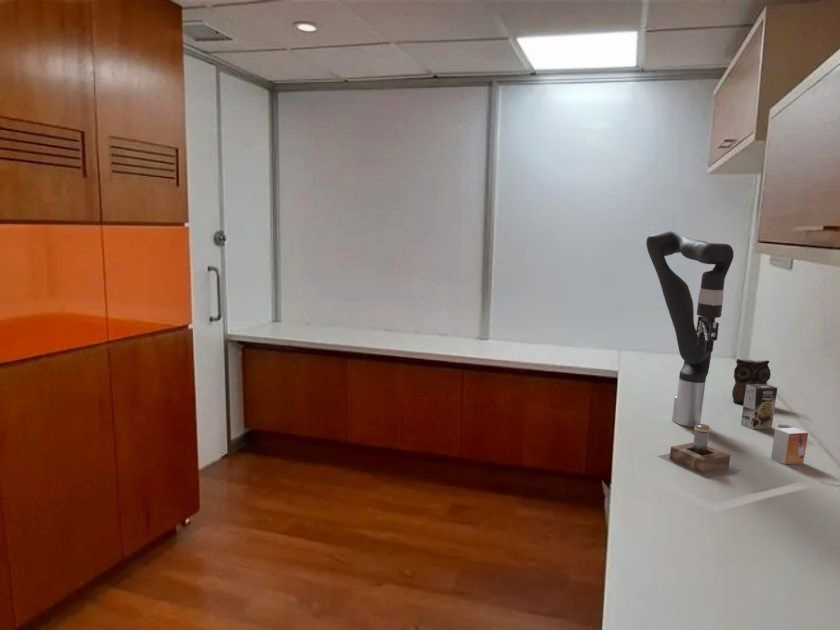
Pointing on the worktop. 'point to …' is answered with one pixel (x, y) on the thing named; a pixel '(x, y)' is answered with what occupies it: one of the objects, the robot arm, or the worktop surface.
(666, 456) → the base
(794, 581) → the worktop surface
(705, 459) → the socket block
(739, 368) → the owl
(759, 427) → the coffee box
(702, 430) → the gold-rimmed metal cylinder
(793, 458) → the small box
